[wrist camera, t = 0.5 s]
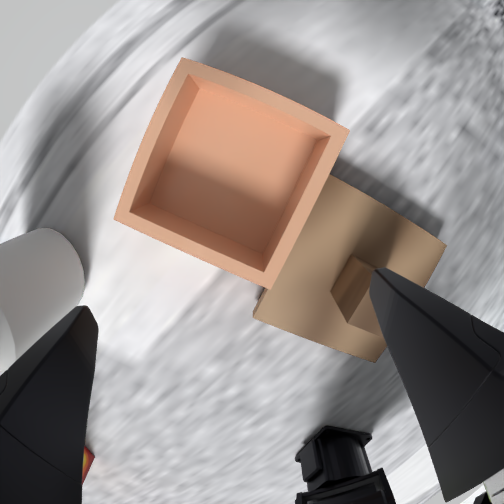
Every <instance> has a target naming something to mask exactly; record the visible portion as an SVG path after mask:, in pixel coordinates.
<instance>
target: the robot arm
mask: <svg viewBox="0 0 504 504" xmlns="http://www.w3.org/2000/svg"><path fill="white" fill-rule="evenodd" d="M369 296H370V299H371V302H372V305H373V308H374V311H375V314H376V317H377V320H378V323H379V326H380V329H381V332H382V335H383V337H384V340H385V342H386V344H387V346H388V349H389V351H390V353H391V355H392V358H393V360H394V362H395V365H396V367H397V369H398V372H399V374H400V376H401V379H402V381H403V384H404V386H405V389H406V391H407V393H408V396H409V398H410V401H411V403H412V406H413V409H414V411H415V414H416V416H417V419H418V422H419V424H420V427H421V430H422V433H423V435H424V438H425V441H426V444H427V447H429V448H428V450H429V453H430V456H431V459H432V462H433V465H434V468H435V471H436V474H437V477H438V480H439V484H440V487H441V490H442V494H443V497H444V500H445V502H448V501H450V500H452V499H454V498H456V497H458V496H460V495H461V494H463V493H465V492H467V491H469V490H470V489H472V488H474V487H475V486H477V485H479V484H481V483H482V482H483V483H484V486H485V489H486V492H484V493H482V494H481V495H479V496H478V497H476V498H475V501H474V503H473V504H504V332H502V331H500V330H498V329H496V328H494V327H492V326H490V325H489V324H487V323H485V322H483V321H481V320H480V319H478V318H476V317H475V316H473V315H470V314H469V313H468V312H466V311H464V310H462V309H461V308H459V307H457V306H455V305H454V304H452V303H450V302H448V301H447V300H445V299H443V298H441V297H439V296H438V295H436V294H434V293H432V292H430V291H429V290H427V289H425V288H423V287H421V286H420V285H418V284H416V283H414V282H412V281H410V280H408V279H407V278H405V277H403V276H401V275H399V274H397V273H395V272H394V271H392V270H390V269H388V268H386V267H383V268H377V269H374V270H373V271H372V275H371V281H370V287H369ZM97 340H98V324H97V322H96V320H95V318H94V316H93V315H92V313H91V311H90V309H89V307H88V306H85V305H84V306H76V307H75V308H73V309H72V310H71V311H70V312H69V313H68V314H66V315H65V316H64V317H63V318H62V319H61V320H60V321H59V322H57V323H56V324H55V325H54V326H53V327H52V328H51V329H50V330H48V331H47V332H46V333H45V334H44V335H43V336H42V337H41V338H40V339H39V340H37V341H36V342H35V343H34V344H33V345H32V346H31V347H30V348H29V349H28V350H27V351H26V352H25V353H24V354H23V355H21V356H20V357H19V358H18V359H17V360H16V361H15V362H14V363H13V364H12V365H11V366H10V367H9V368H8V370H6V371H5V372H4V373H3V374H2V375H1V376H0V504H82V476H83V459H84V447H85V437H86V427H87V419H88V411H89V404H90V397H91V391H92V384H93V378H94V372H95V363H96V351H97ZM371 439H372V435H371V434H368V433H362V432H356V431H351V430H346V429H341V428H336V427H331V426H326V427H324V428H323V429H322V430H321V431H320V432H319V433H318V434H317V435H316V436H315V437H314V438H313V439H312V440H311V441H310V442H309V443H308V444H307V446H306V447H305V448H304V449H303V450H302V451H301V452H300V453H299V454H298V455H297V456H296V457H295V461H296V462H300V463H301V467H302V475H303V480H304V482H307V487H308V492H304V493H302V492H300V493H297V497H296V500H295V504H396V502H395V499H394V496H393V493H392V490H391V488H390V485H389V483H388V480H387V478H386V475H385V473H384V470H383V468H380V469H377V471H374V472H372V469H371V466H370V463H369V460H368V457H367V454H366V451H365V448H364V446H365V445H366V444H367V443H368V442H369V441H370V440H371Z"/></svg>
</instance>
